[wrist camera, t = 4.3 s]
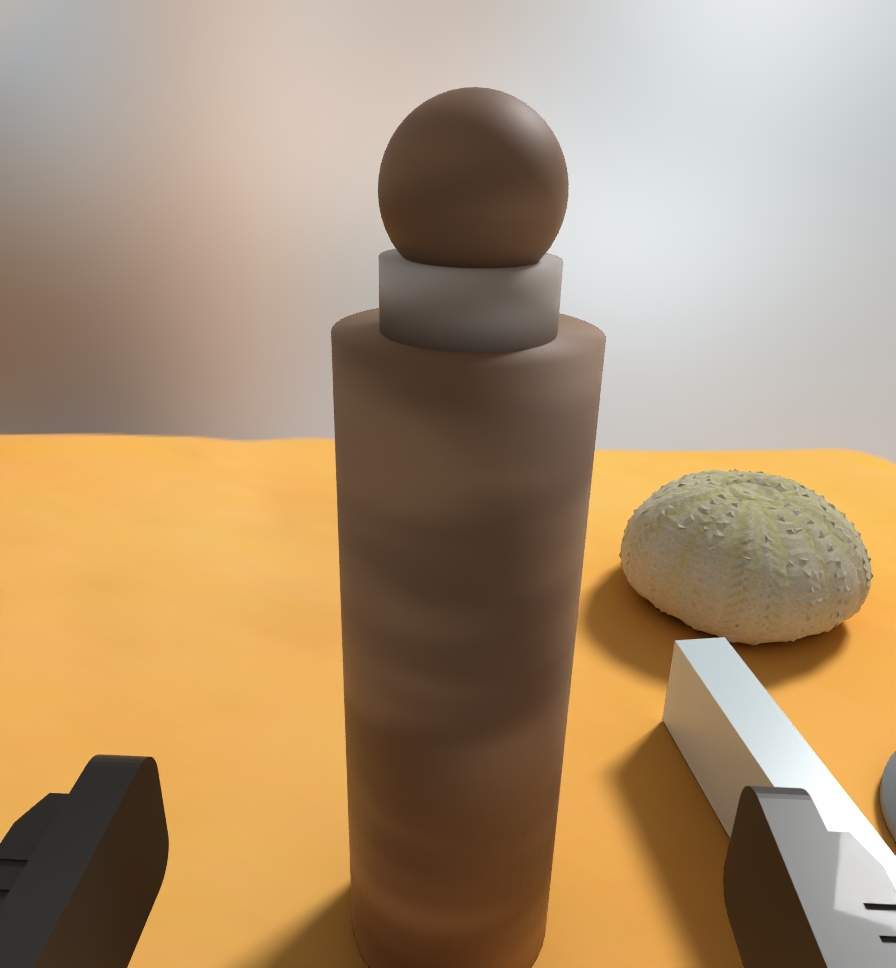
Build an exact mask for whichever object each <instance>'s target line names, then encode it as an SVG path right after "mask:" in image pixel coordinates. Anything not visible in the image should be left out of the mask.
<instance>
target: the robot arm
mask: <svg viewBox="0 0 896 968" xmlns="http://www.w3.org/2000/svg"><path fill="white" fill-rule="evenodd" d="M168 850H169V839H168V831H167V824H166V818H165V812H164V805H163V799H162V793H161V786H160V780H159V774H158V768H157V764H156V761H155V760H154V758H152V757H143V756H121V755H95V756H94V757H93V758H92V759H91V760H90V761H89V762H88V764H87V765H86V767H85V768H84V770H83V772H82V773H81V775H80V777H79V778H78V780H77V781H76V783H75V785H74V786H73V788H72V790H71V791H70V793H69V794H61V793H49V794H48V795H47V796H45V797H44V798H43V799H42V800H41V801H39V802H38V803H37V804H36V805H35V806H33V807H32V808H31V809H30V810H29V811H27V812H26V813H25V814H24V815H23V816H22V817H20V818H19V819H18V820H17V821H16V822H14V824H13V825H12V827H11V828H10V830H9V831H8V833H7V834H6V836H5V837H4V839H3V840H2V842H1V843H0V968H127V967H128V964H129V962H130V960H131V957H132V955H133V952H134V950H135V948H136V945H137V943H138V940H139V938H140V936H141V933H142V931H143V928H144V926H145V924H146V921H147V919H148V916H149V914H150V912H151V909H152V907H153V904H154V902H155V900H156V897H157V895H158V892H159V890H160V887H161V885H162V882H163V878H164V875H165V871H166V866H167V859H168ZM723 882H724V897H725V904H726V909H727V914H728V917H729V921H730V924H731V927H732V931H733V934H734V937H735V940H736V943H737V947H738V950H739V953H740V956H741V959H742V963H743V966H744V968H896V889H895V887H894V885H893V883H892V881H891V879H890V878H889V876H888V874H887V872H886V870H885V868H884V866H883V865H882V864H881V863H880V862H879V861H878V860H877V859H876V858H875V857H874V856H873V855H872V854H871V853H870V852H869V851H868V850H867V849H866V848H865V847H864V846H863V845H862V844H861V843H860V842H859V841H858V840H857V839H856V838H855V837H854V836H853V835H852V834H851V833H850V832H836V831H828V830H827V828H826V826H825V824H824V822H823V820H822V818H821V816H820V814H819V812H818V810H817V808H816V806H815V804H814V802H813V800H812V798H811V796H810V795H809V793H808V792H807V791H806V790H805V789H802V788H787V787H764V786H745V787H744V788H743V790H742V792H741V795H740V799H739V803H738V807H737V812H736V816H735V821H734V825H733V830H732V834H731V838H730V843H729V847H728V852H727V856H726V861H725V866H724V878H723Z"/></svg>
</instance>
